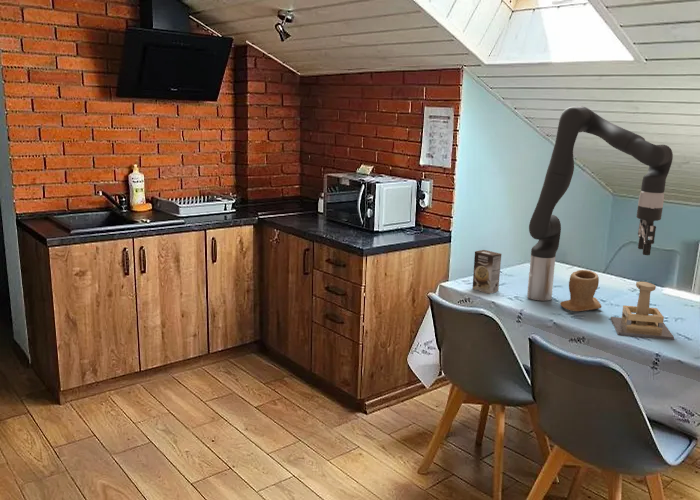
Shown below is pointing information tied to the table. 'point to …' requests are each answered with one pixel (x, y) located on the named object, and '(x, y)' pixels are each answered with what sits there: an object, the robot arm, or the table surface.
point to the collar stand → (650, 330)
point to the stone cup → (582, 291)
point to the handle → (644, 299)
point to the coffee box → (486, 271)
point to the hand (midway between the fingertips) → (643, 252)
